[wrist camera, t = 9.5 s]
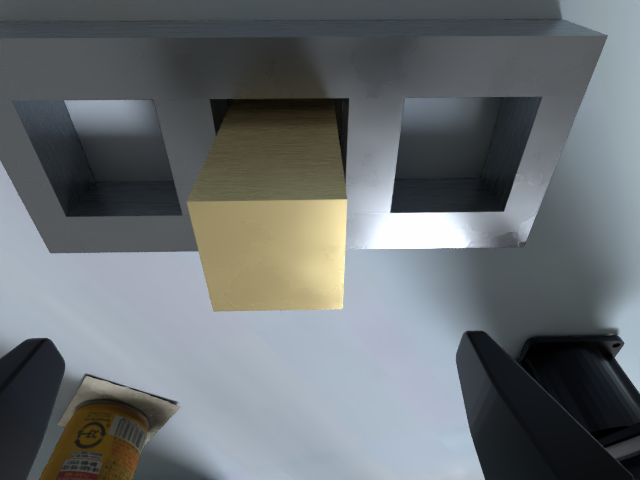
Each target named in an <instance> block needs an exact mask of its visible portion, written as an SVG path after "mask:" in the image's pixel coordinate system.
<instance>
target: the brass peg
mask: <svg viewBox="0 0 640 480" xmlns="http://www.w3.org/2000/svg"><path fill="white" fill-rule="evenodd" d="M187 205H188V209H189V214H190V218H191V222H192V226H193V230H194V234H195V238H196V242H197V246H198V250H199V254H200V258H201V263H202V267H203V271H204V275H205V279H206V283H207V287H208V291H209V295H210V299H211V303H212V307H213V311H260V310H316V309H343V287H344V264H345V242H346V219H347V193H346V186H345V179H344V171H343V164H342V157H341V150H340V143H339V135H338V128H337V121H336V114H335V106H334V99H333V98H288V99H233V100H232V102H231V105H230V107H229V109H228V111H227V113H226V116H225V118H224V120H223V122H222V124H221V127H220V129H219V131H218V133H217V136H216V138H215V140H214V142H213V144H212V147H211V149H210V151H209V153H208V155H207V158H206V160H205V162H204V164H203V166H202V169H201V171H200V173H199V175H198V178H197V180H196V182H195V184H194V186H193V189H192V191H191V193H190V195H189V197H188V200H187Z"/></svg>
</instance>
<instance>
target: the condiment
mask: <svg viewBox="0 0 640 480" xmlns="http://www.w3.org/2000/svg"><path fill="white" fill-rule="evenodd" d="M107 395H111V396H107ZM103 396H105V397H103ZM179 408H180V407H179V406H176V405H174V404H171V403H170V402H168V401H164V400H162V399H159V398H156V397H152V396H150V395H148V394H145V393H142V392H139V391H135V390H132V389H130V387H123V386H118V385H115V384H112V383H110V382H107V381H104V380H98V379H95V378H92V377H89V376H86V377H85V379H84V381H83V383H82V384H81V386H80V388H79V389H78V391H77V393H76V394H75V396H74V398H73V399H72V401H71V403H70V404H69V406H68V408H67V410H66V411H65V413H64V415H63V416H62V418H61V420H60V421H59V423H58V425H57V426H61V427H64V428H65V429H64V431H63V433H62V435H61V437H60V439H59V442H58V443H57V445H56V447H55V449H54V452H53V454H52V456H51V458H50V459H49V461H48V464H47V465H46V467H45V469H44V470H43V472H42V475H41V478H40V479H39V480H132V479H133V476H134V473H135V470H136V467H137V465H138V461H139V458H140V455H141V452H142V449H143V447H144V446H145V445H146V444H147V443H148V441H149V440H150V439H151V438H152V437H153V436H154V435H155V433H157V431H158V430H159V429H160V428H161V427H163V426H164V424H165V423H166V422H167V421H168V420H169V418H170V417H171V416H172V415H173V414H175V413H176V411H177V410H178V409H179Z"/></svg>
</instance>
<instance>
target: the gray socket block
mask: <svg viewBox="0 0 640 480" xmlns="http://www.w3.org/2000/svg"><path fill="white" fill-rule="evenodd" d="M607 36H608V35H605V34H602V33H600V32H597V31H594V30H591V29H588V28H586V27H583V26H580V25H577V24H574V23H572V22H569V21H566V20H563V19H527V20H304V21H80V22H0V160H1V162H2V164H3V166H4V168H5V170H6V172H7V174H8V175H9V177H10V179H11V181H12V183H13V185H14V187H15V188H16V190H17V192H18V194H19V196H20V198H21V200H22V202H23V203H24V205H25V207H26V209H27V211H28V213H29V215H30V216H31V218H32V220H33V222H34V224H35V226H36V228H37V230H38V231H39V233H40V235H41V237H42V239H43V241H44V243H45V244H46V246H47V248H48V250H49V252H50V253H100V252H176V251H199V250H198V246H197V242H196V238H195V234H194V230H193V226H192V222H191V218H190V214H189V209H188V205H187V200H188V197H189V195H190V193H191V191H192V189H193V186H194V184H195V182H196V180H197V178H198V175H199V173H200V171H201V169H202V166H203V164H204V162H205V160H206V158H207V155H208V153H209V151H210V149H211V147H212V144H213V142H214V140H215V138H216V136H217V133H218V131H219V129H220V127H221V124H222V122H223V120H224V118H225V116H226V113H227V111H228V109H229V108H228V101H227V99H288V98H343V112H342V142H341V157H342V164H343V171H344V179H345V186H346V193H347V219H346V242H345V249H406V248H483V247H524V245H525V243H526V240H527V238H528V235H529V233H530V230H531V227H532V225H533V222H534V220H535V217H536V215H537V212H538V210H539V207H540V205H541V202H542V200H543V197H544V195H545V192H546V190H547V187H548V185H549V182H550V180H551V177H552V175H553V172H554V170H555V167H556V165H557V162H558V160H559V157H560V155H561V152H562V150H563V147H564V144H565V142H566V139H567V137H568V134H569V132H570V129H571V127H572V124H573V122H574V119H575V117H576V114H577V112H578V109H579V107H580V104H581V102H582V99H583V97H584V94H585V92H586V89H587V87H588V84H589V82H590V79H591V77H592V74H593V72H594V69H595V67H596V64H597V61H598V59H599V56H600V54H601V51H602V49H603V46H604V44H605V41H606V39H607ZM423 97H503V100H502V104H501V107H500V111H499V115H498V118H497V122H496V125H495V129H494V133H493V136H492V140H491V143H490V147H489V151H488V154H487V158H486V162H485V165H484V169H483V172H482V176H481V178H451V179H395V171H396V163H397V155H398V147H399V140H400V132H401V124H402V116H403V108H404V100H405V98H423ZM64 100H154V104H155V108H156V112H157V116H158V120H159V124H160V128H161V132H162V136H163V140H164V144H165V148H166V152H167V156H168V159H169V163H170V167H171V171H172V175H173V179H174V181H164V182H95V180H94V177H93V174H92V172H91V169H90V167H89V164H88V162H87V159H86V157H85V154H84V151H83V149H82V146H81V144H80V141H79V139H78V136H77V134H76V131H75V128H74V126H73V123H72V121H71V118H70V116H69V113H68V110H67V108H66V105H65V103H64Z"/></svg>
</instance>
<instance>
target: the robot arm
mask: <svg viewBox="0 0 640 480" xmlns="http://www.w3.org/2000/svg"><path fill="white" fill-rule="evenodd" d="M623 345H624V342H623V341H622V339H621V338H620V337H619V336H589V337H535V338H531V339H529V340H528V341H527V343H526V345H525V347H524V349H523V351H522V353H521V355H520V357H519V359H518V361H517V362H516V361H515V360H514V359H513V358H512V357H510V356H509V355H508V354H507V353H506V352H505V351H504V350H503V349H502V348H501V347H500V346H499V345H498V344H497V343H496V342H495V341H494V340H493V339H492V338H491V337H490V336H489V335H488V334H487V333H485V332H484V331H466V332H464V333H463V336H462V338H461V341H460V344H459V347H458V350H457V354H456V364H457V369H458V374H459V379H460V384H461V389H462V394H463V399H464V404H465V409H466V414H467V419H468V424H469V428H470V432H471V436H472V439H473V443H474V446H475V449H476V452H477V455H478V458H479V462H480V465H481V468H482V471H483V474H484V477H485V480H640V393H639V392H638V390H637V389H636V388H635V386H634V385H633V383H632V382H631V381H630V379H629V378H628V376H627V375H626V374H625V372H624V371H623V369H622V368H621V367H620V365H619V364H618V362H617V361H616V359H615V358H614V357H615V356H616V355H617V353H618V352H619V351H620V349H621V348H622V347H623ZM64 371H65V361H64V359H63V357H62V356H61V354H60V353H59V351H58V350H57V348H56V346H55V345H54V343H53V342H52V341H51V340H50V339H48V338H32V339H27V340H25V341H24V342H22V343H21V344H19V345H18V346H17V347H15V348H14V349H13V350H11V351H10V352H9V353H7V354H6V355H5V356H3V357H2V358H1V359H0V480H26V479H27V476H28V474H29V472H30V469H31V467H32V465H33V462H34V460H35V458H36V455H37V453H38V451H39V448H40V446H41V443H42V441H43V438H44V435H45V432H46V429H47V426H48V423H49V420H50V417H51V413H52V410H53V407H54V404H55V401H56V397H57V394H58V391H59V388H60V385H61V381H62V378H63V375H64Z"/></svg>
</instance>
